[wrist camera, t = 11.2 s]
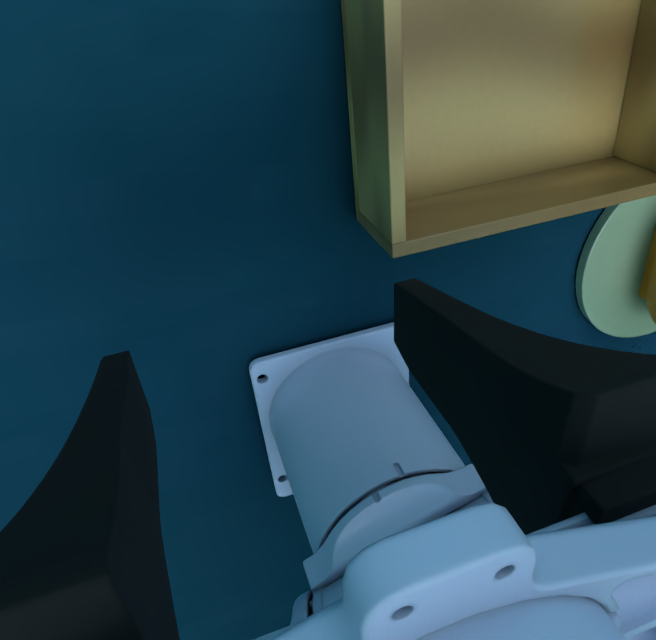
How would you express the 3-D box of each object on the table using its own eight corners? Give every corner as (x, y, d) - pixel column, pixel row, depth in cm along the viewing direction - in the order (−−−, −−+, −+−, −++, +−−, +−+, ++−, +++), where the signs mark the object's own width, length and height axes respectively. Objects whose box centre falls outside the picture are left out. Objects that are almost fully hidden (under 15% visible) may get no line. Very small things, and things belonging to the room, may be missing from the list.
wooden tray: (612, 163, 28) (679, 189, 24) (356, 220, 25) (392, 259, 22) (678, -184, 20) (784, -211, 17) (328, -157, 18) (377, -182, 15)
